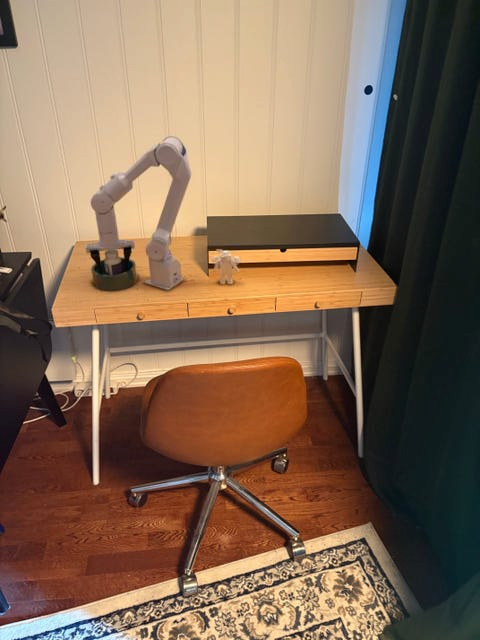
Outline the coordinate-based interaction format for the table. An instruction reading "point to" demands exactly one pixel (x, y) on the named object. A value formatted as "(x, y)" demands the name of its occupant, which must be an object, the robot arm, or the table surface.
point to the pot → (115, 277)
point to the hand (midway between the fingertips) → (114, 270)
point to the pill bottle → (112, 263)
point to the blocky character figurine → (225, 265)
